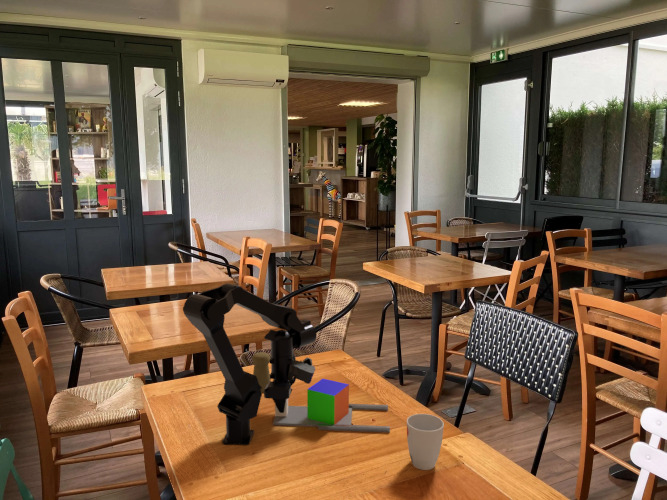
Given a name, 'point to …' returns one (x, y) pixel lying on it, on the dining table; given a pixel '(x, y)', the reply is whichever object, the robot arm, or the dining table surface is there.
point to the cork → (261, 369)
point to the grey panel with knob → (302, 417)
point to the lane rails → (358, 427)
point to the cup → (424, 440)
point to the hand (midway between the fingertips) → (282, 409)
